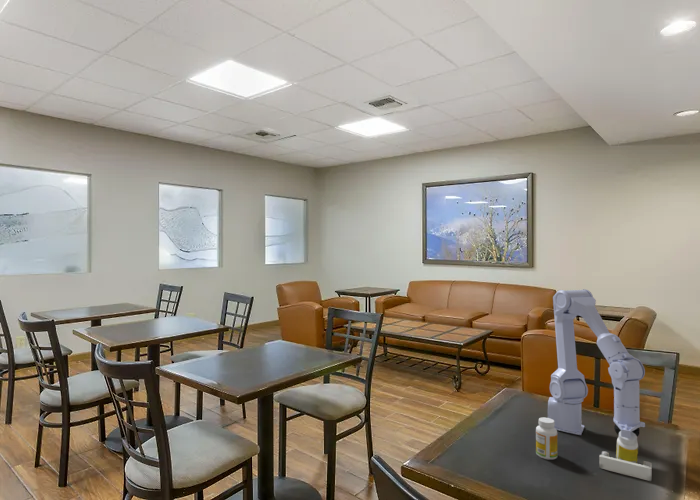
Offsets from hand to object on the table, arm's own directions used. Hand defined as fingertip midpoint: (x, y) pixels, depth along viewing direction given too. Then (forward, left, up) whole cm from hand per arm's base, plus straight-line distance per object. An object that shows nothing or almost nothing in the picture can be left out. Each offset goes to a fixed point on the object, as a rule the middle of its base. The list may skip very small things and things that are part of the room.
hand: (627, 454), depth 114 cm
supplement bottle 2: (0, -2, -1) cm, 2 cm away
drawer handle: (0, -4, -2) cm, 5 cm away
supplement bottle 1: (-18, -9, -2) cm, 21 cm away
